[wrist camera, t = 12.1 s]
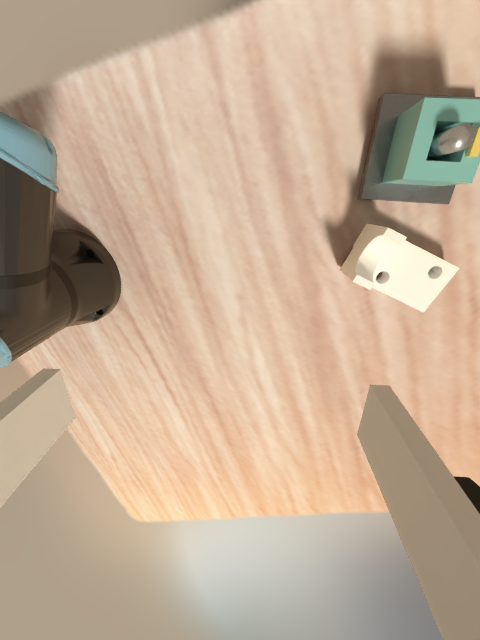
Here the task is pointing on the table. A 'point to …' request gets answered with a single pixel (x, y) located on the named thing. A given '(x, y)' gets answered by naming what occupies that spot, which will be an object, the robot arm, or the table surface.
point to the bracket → (396, 267)
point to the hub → (416, 140)
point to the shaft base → (380, 149)
